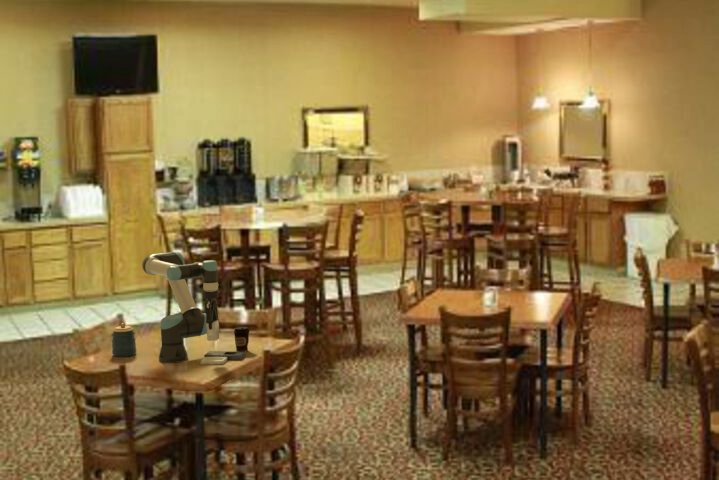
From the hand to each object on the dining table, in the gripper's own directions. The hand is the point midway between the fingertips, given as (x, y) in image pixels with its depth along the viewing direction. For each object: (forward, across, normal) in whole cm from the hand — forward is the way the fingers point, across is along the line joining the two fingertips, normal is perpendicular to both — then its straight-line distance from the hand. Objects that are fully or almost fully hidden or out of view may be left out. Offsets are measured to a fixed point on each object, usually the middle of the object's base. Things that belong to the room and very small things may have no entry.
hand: (212, 334), depth 526 cm
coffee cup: (+15, +26, -8) cm, 31 cm away
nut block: (+3, 0, 0) cm, 3 cm away
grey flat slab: (+15, +10, -3) cm, 18 cm away
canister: (+15, +14, +55) cm, 59 cm away
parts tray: (+15, 0, 0) cm, 15 cm away
